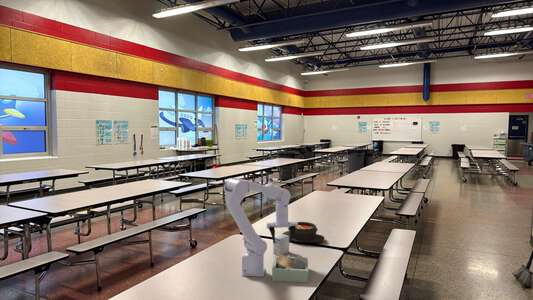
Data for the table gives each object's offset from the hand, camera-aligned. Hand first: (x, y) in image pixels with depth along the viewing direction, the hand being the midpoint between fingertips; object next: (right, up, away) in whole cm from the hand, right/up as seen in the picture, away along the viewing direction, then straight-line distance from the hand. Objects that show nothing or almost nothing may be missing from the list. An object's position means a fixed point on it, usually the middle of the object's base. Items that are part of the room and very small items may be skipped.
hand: (282, 242), depth 152 cm
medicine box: (0, -10, +14) cm, 18 cm away
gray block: (+6, -8, -10) cm, 14 cm away
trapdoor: (+2, -9, -10) cm, 13 cm away
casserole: (+13, -9, +35) cm, 39 cm away
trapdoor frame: (+3, -11, -10) cm, 15 cm away
